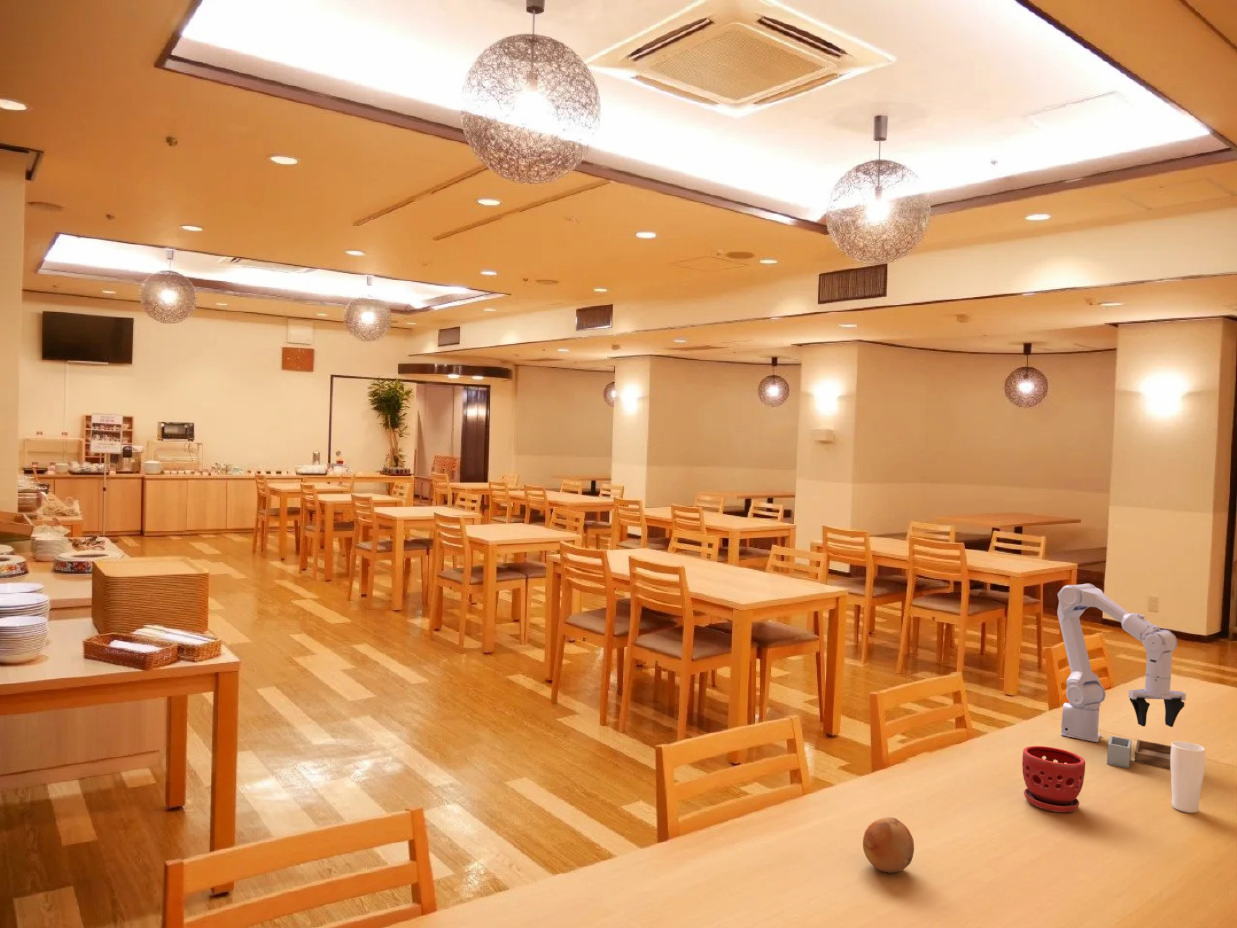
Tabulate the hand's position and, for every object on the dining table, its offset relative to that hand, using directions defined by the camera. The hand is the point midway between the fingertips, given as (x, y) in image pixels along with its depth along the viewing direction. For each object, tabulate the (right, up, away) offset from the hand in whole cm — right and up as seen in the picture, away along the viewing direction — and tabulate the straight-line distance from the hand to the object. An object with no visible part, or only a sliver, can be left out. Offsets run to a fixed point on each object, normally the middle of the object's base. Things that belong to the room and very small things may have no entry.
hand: (1155, 725), depth 231 cm
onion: (-92, -9, -63) cm, 112 cm away
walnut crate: (+1, -10, +2) cm, 10 cm away
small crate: (-11, -9, -1) cm, 14 cm away
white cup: (-12, -11, -31) cm, 35 cm away
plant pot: (-43, -10, -30) cm, 54 cm away
